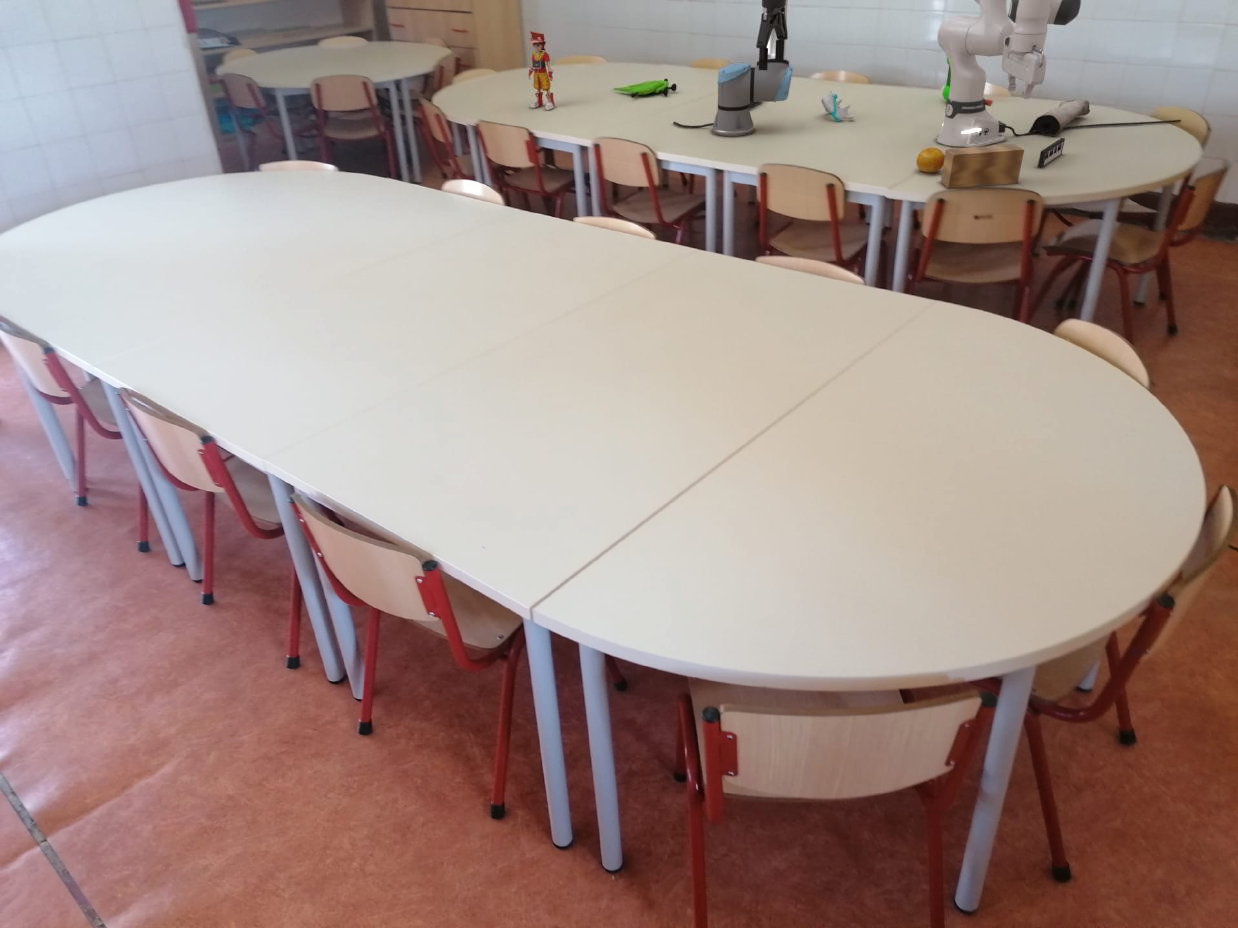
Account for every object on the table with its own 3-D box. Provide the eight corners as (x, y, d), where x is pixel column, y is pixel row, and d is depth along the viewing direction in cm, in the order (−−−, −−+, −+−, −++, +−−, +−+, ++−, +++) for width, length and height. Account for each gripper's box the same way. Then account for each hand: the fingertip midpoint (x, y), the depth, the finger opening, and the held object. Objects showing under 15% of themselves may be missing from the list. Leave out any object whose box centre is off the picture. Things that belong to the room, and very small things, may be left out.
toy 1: (525, 109, 381) (517, 32, 364) (534, 104, 388) (527, 28, 371) (550, 110, 377) (543, 32, 360) (559, 105, 384) (553, 28, 367)
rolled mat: (1057, 104, 331) (1081, 87, 323) (1070, 125, 332) (1095, 108, 324) (1024, 126, 314) (1049, 109, 306) (1039, 148, 314) (1064, 131, 306)
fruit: (910, 163, 282) (927, 140, 279) (912, 165, 290) (928, 143, 287) (933, 178, 281) (950, 155, 278) (933, 180, 289) (950, 157, 286)
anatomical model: (816, 90, 346) (842, 83, 346) (819, 117, 352) (844, 110, 352) (827, 99, 334) (853, 92, 333) (830, 127, 340) (856, 120, 339)
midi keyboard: (1041, 167, 283) (1045, 151, 280) (1037, 167, 283) (1040, 151, 280) (1062, 154, 293) (1065, 138, 290) (1057, 153, 294) (1061, 137, 291)
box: (948, 188, 272) (953, 155, 266) (940, 182, 277) (945, 149, 271) (1017, 183, 272) (1024, 149, 267) (1009, 177, 277) (1015, 144, 272)
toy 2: (686, 85, 398) (631, 84, 414) (685, 72, 395) (629, 72, 411) (651, 104, 381) (596, 103, 397) (650, 92, 378) (594, 91, 394)
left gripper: (769, -1, 270) (767, 74, 282) (800, -13, 287) (796, 58, 300) (747, -1, 274) (745, 73, 286) (778, -13, 291) (775, 57, 303)
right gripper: (1056, 49, 244) (1045, 102, 252) (1023, 35, 261) (1014, 85, 269) (1033, 51, 244) (1023, 104, 252) (1001, 37, 260) (993, 87, 268)
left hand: (771, 66), depth 293 cm, fingers open, 13 cm apart
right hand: (1018, 94), depth 260 cm, fingers open, 8 cm apart
